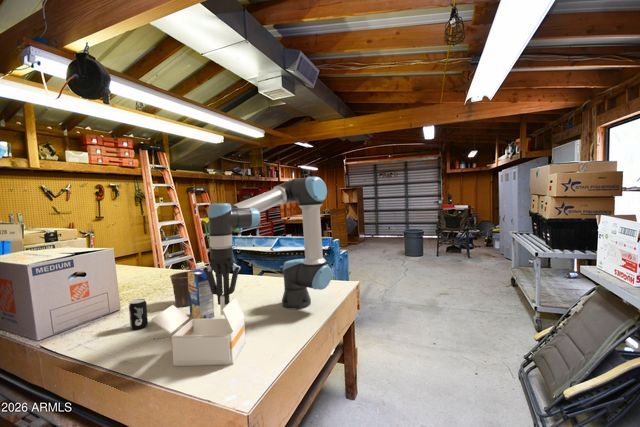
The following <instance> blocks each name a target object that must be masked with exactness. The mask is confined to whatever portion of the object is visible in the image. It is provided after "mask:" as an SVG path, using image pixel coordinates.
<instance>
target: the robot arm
mask: <svg viewBox="0 0 640 427" xmlns="http://www.w3.org/2000/svg"><path fill="white" fill-rule="evenodd" d="M327 188H328V187H327V186H326V183H325V181H324V180H323V179H322V178H320V177H319V176H305V177H299V178H292V179H290V180H287V181H285V182H283V183H281V184H278V185H276V186H275V185H274V187H273V188H272V190H271V189H270V190H268V191H266V192H264V193H260V194H257V195H256V196H253V197H250V198H247V199H244V200H242V201H239V202H237V203H235V204H232V205H231V203H229V202H228V203H227V202H225V203H210V204H209V205H208V213H207V214H208V216H207V218H208V233H209V234H208V235H209V237H208V238H209V247H210V249H209V258H210V261H209V265H207V266H205V267H204V268H202V269H203V271H204V272H205V273H206V275H207V279H208V282H209V285H210V289H211V292H212V294H213V295H216V296H217V304H218V306H219V305H220V315H222V316H224V314H223V312H222V309H223V308H224V307H225V306H226V305H227V304H228V303H229V302H230V301H231V300H230V295H232V294H233V293H234V292H235V290H236V286H237V281H238V275H239V271H241V269H242V266H241V265H237V264H236V263H235V261H234V251H233V250H234V249H233V247H232V246H233V230H236V229H246V228H247V229H248V228H249V229H250V228H255V227H257V226H258V225H260V222H261V213H262V212H264V211H267V210H269V209H271V208H273V207H276V206H278V205H280V206H283V205H285V204H289V203H298V204H297V205H298V207H299V208H300V209H301V211H302V212H301V214H302V215H301V216H302V228H303V229H302V230H303V245H304V247H303V248H304V256H305V257H304V258H295V259H291V260H287V261H284V263H283V281H284V282H283V284H284V292H283V294H282V299H281V306H282V307H283V308H284V309H288V310H299V309H304V308H307V307H309V306H310V305H311V303H312V299H311V296H310V292H309V291H308V288H309V289H313V290H320V291H322V290H324V289H326V288H327V287H328V286H329V285H330V283H331V280H332V277H333V276H332V275H333V271H332V268H331V267H330V266H329V265H327V259H325V257H324V255H323V240H322V239H323V238H322V225H321V224H322V223H321V210H320V209H321V207H322V206H323V201H324V200H325V199H326V198H327V195H328V189H327ZM231 270H232V271H233V272H232V275H231V279H230V272H231ZM213 272H214V273H215V274H214V273H213ZM214 276H215V277H214Z"/></svg>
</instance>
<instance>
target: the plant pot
mask: <svg viewBox="0 0 640 427" xmlns="http://www.w3.org/2000/svg"><path fill="white" fill-rule="evenodd" d="M187 271H188V270H187ZM187 271H186V270H185V271H181V272H176V273H173V274H171V275H170V276H169V278H170V279H171V280H170V281H171V284H172V288H173V295H174V303H175V306H177V307H190V304H189V288H188V272H187Z"/></svg>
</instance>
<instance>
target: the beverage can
mask: <svg viewBox="0 0 640 427" xmlns="http://www.w3.org/2000/svg"><path fill="white" fill-rule="evenodd" d="M147 305H148V304H147V301H146V299H145V298H136V299H134V300H131V301H129V305H128V312H129V314H128V315H129V326H130V329H131V330H132V331H138V330H142V329H145V328H146V327H147V326H148V324H149V322H148V320H149V319H148V306H147Z"/></svg>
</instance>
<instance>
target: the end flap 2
mask: <svg viewBox="0 0 640 427" xmlns="http://www.w3.org/2000/svg"><path fill="white" fill-rule="evenodd" d="M229 301H230V302H229V303H228V304H227V305H226V306H225V307H224V308H223V309H222V312H223V314H224V315H223V316H224V318H226V321H227V323H228V325H229V327H230V329H231V331H232V332H233V331H234V330H235V328H236V327H237V326H238V324H239V323H240V321H241V320H242V319H243V317H244V318H245V314H244V313H243V310H242V308H241V305H240V303H239V301H238V300H237V298H236V296H234V297H233V298H232V299H231V300H229Z"/></svg>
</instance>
